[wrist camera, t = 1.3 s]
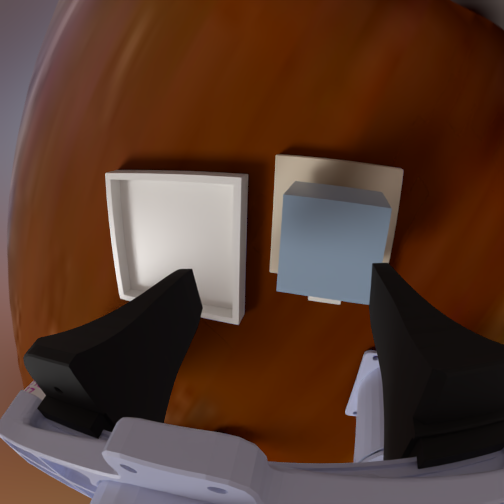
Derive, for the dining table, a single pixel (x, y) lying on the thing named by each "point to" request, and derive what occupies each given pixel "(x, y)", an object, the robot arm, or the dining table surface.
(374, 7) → the dining table surface
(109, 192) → the tray
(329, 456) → the dining table surface
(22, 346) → the dining table surface
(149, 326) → the robot arm
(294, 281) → the pale blue cube
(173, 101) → the dining table surface
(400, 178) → the post stand
